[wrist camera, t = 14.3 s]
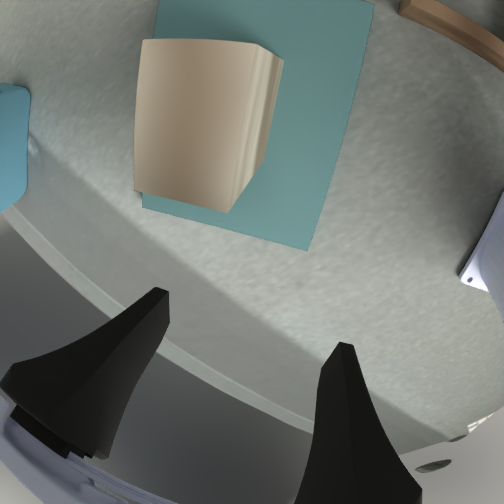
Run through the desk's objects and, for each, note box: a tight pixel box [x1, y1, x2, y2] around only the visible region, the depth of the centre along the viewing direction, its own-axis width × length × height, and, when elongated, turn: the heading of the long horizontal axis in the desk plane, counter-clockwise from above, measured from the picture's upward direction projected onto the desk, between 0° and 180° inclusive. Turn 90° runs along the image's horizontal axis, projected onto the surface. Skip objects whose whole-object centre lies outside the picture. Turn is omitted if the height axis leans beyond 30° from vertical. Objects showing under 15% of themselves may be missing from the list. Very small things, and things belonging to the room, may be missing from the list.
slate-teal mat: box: [142, 0, 374, 251], centre depth 15 cm, size 12×16×1 cm
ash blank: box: [134, 39, 284, 213], centre depth 12 cm, size 4×6×7 cm, turn 171°
